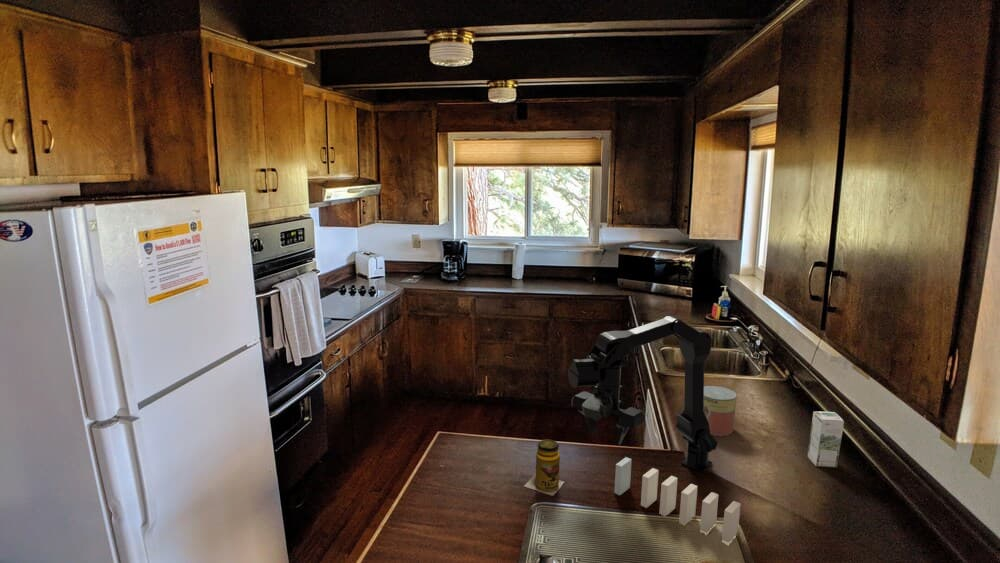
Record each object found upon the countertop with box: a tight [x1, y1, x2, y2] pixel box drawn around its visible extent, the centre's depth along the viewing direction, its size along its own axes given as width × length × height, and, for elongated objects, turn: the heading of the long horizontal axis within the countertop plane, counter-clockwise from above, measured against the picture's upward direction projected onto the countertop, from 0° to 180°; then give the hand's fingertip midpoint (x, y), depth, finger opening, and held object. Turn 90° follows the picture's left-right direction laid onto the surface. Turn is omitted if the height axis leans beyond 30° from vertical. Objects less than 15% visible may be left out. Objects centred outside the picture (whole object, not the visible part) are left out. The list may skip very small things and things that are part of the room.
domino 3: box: [658, 475, 679, 517], centre depth 134 cm, size 5×2×8 cm, turn 136°
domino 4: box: [678, 483, 699, 524], centre depth 131 cm, size 5×2×8 cm, turn 136°
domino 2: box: [640, 467, 659, 509], centre depth 137 cm, size 5×2×8 cm, turn 136°
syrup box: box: [807, 410, 845, 468], centre depth 157 cm, size 6×6×14 cm
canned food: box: [704, 385, 738, 437], centre depth 178 cm, size 11×11×12 cm
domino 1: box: [614, 456, 632, 496], centre depth 143 cm, size 5×2×8 cm, turn 137°
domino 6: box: [721, 500, 742, 542], centre depth 124 cm, size 5×2×8 cm, turn 136°
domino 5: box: [699, 491, 720, 533], centre depth 127 cm, size 5×2×8 cm, turn 136°
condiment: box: [523, 438, 565, 497], centre depth 144 cm, size 7×8×12 cm
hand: (605, 439), depth 145 cm, fingers open, 8 cm apart
